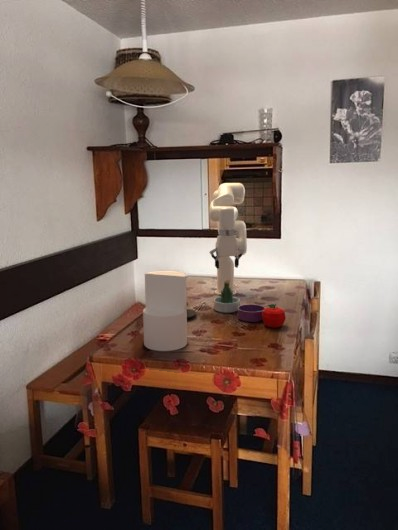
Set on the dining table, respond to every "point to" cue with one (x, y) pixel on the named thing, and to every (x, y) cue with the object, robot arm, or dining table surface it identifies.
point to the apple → (273, 316)
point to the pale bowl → (226, 305)
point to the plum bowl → (250, 312)
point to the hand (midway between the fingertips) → (226, 267)
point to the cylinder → (165, 310)
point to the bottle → (226, 293)
